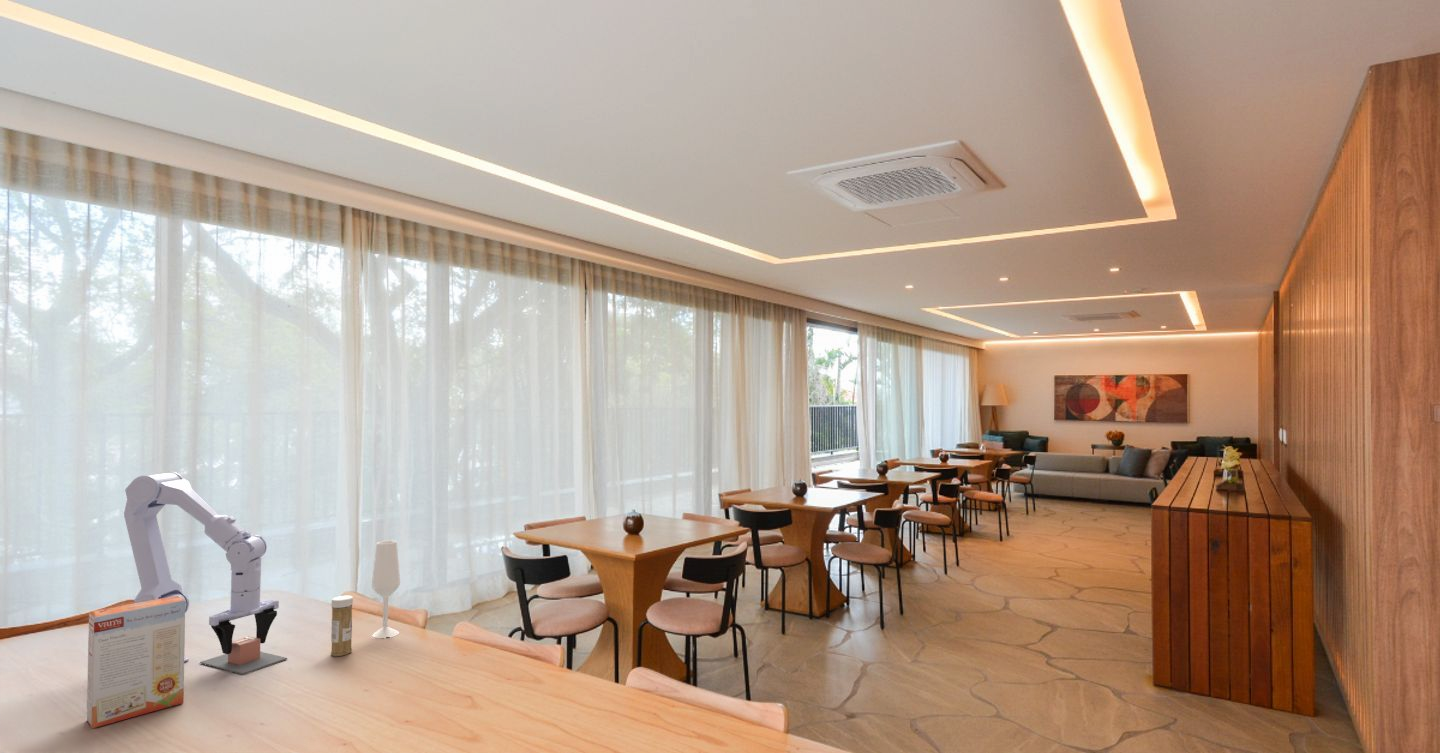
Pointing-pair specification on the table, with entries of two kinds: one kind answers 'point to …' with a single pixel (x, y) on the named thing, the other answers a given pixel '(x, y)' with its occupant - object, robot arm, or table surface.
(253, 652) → the lettered cube
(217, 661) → the charcoal mat
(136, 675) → the cracker box
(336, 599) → the sprinkles bottle
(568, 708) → the table surface
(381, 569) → the champagne flute
